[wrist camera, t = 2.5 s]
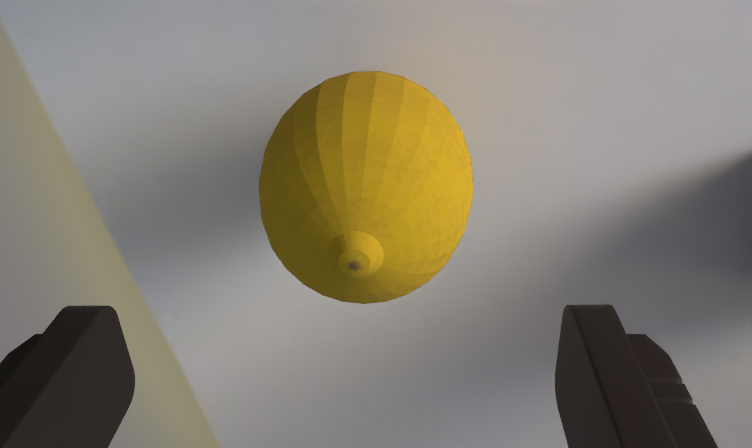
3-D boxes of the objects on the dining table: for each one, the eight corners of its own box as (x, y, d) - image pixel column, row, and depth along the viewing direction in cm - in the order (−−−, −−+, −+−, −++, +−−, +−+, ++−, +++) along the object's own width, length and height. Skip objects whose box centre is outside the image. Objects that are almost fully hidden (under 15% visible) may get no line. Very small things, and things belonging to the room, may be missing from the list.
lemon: (275, 179, 21) (206, 331, 14) (311, 17, 19) (248, 107, 12) (431, 222, 22) (438, 389, 15) (489, 69, 19) (529, 187, 12)
